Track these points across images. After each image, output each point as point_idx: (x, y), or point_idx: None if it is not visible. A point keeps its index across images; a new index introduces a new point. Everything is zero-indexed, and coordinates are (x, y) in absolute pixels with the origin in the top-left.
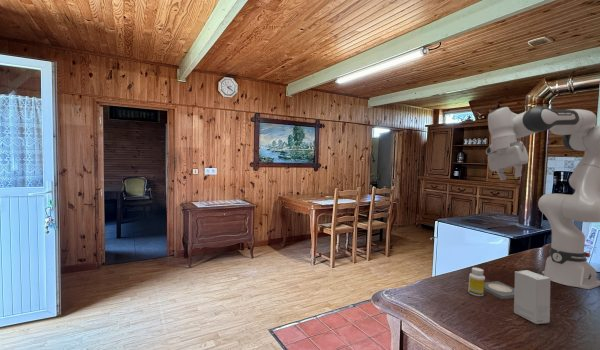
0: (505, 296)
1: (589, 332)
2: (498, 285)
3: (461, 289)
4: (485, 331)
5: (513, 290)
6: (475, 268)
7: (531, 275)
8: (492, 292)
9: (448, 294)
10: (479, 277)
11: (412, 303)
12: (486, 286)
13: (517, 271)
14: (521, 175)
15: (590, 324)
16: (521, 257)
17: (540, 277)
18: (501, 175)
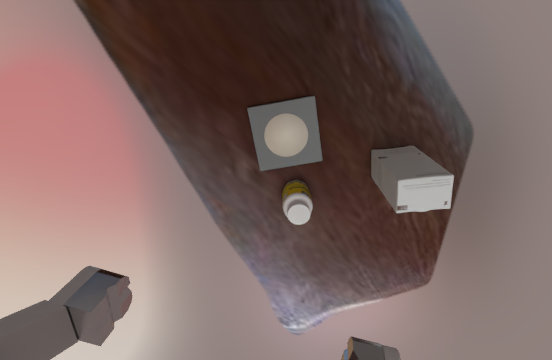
0: (320, 151)
1: (450, 101)
2: (274, 129)
3: (276, 206)
4: (409, 255)
5: (298, 112)
6: (293, 216)
7: (430, 203)
8: (301, 163)
9: (296, 241)
10: (310, 212)
11: (323, 304)
12: (277, 159)
13: (399, 209)
14: (398, 354)
15: (432, 68)
16: None
17: (445, 194)
18: (69, 334)
